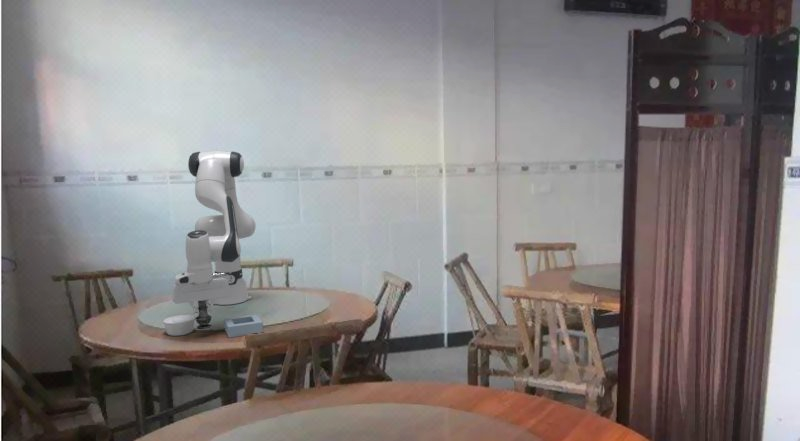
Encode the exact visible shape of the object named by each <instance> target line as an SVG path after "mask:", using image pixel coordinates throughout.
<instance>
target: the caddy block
mask: <svg viewBox="0 0 800 441" xmlns="http://www.w3.org/2000/svg"><path fill="white" fill-rule="evenodd" d="M224 328H225V329H224ZM223 329H224V331H225V333H226V335H227V337H228V339H229V338H237V337H242V336H244V337H245V336H246V335H245V334H251V333H258V334H260V333H259V332H263V333H264V322H263V321H262V320H261V318H260V316H259V315H258V314H257V313H254V314H247V315H239V316H233V317H225V318H223ZM251 335H252V334H251Z"/></svg>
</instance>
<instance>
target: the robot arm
mask: <svg viewBox="0 0 800 441" xmlns="http://www.w3.org/2000/svg"><path fill="white" fill-rule="evenodd" d="M187 166H188V170H189V173H190V174H191V176H193V177H195V186H194V192H195V193H194V194H195V198H196V200H197V201H198V202H199V203H200V204H201V205H202V206H203V207H206V208H208V209H211V210H213V211H215V212H219V213H221V214H220V215H217V214H216V215H207V216H203V217H200V218H198V219H197V220H196V222H195V226H194V230H193V231H190V232H188V233H187V234H186V237H185V258H186V260H187V265H186V271H184V272H183V271H182V272H181V273H179V274H176V275H175V277H174V281H175V283H174V284H173V287H172V302H173V304H175V305H176V304H177V305H179V304H185V303H189V305H190V306H191V308H192V309H193V314H199V309H198V307H196V306H195V302H198V301H203V300H206V301H208V304H209V305H207V307H208V308H207V312H213V306H214V305H221V306H225V305H226V306H227V305H235V304H236V305H237V304H240V303H244V302H246V301H247V300H251V299H252V298H253V297H252V295H250V294H248V286H247V281H246V280H245V279H244V278H243V273H244V272H243V268H242V263H241V262H242V260H241V250H242V248H241V244H240V239H245V238H249V237H252V236H253V235H254V233H255V231H256V228H257V226H256V222H255V220H254V217H253V216H251V215H250V214H248V213H247V212H246V211H245V210H244V209H243V208H242V207H241V206H240V204H239V202H238V197H237V190H236V178H237V177H239V176H241V175H242V174H243V171H244V169H245V168H244V167H245V162H244V158H243V155H242V154H241V153H239V152H237V151H224V150H215V151H214V150H211V151H202V152H201V151H196V152H192V153H191V155H189V158H188V162H187ZM212 262H214V267H215V270H214V273H213V263H212Z"/></svg>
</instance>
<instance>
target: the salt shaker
mask: <svg viewBox="0 0 800 441" xmlns="http://www.w3.org/2000/svg"><path fill="white" fill-rule="evenodd" d="M197 303H198V307H197V308H198V315H197V316H196V317H195V321H196V323H197V324H198V326H196V329H198V330H207V329H210V328H211V327H212V325H211V321H212V315H210V314H209V313H208V307H207V306H208V305H207V300H203V301H197Z"/></svg>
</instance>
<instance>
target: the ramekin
mask: <svg viewBox="0 0 800 441" xmlns="http://www.w3.org/2000/svg"><path fill="white" fill-rule="evenodd" d="M195 318H196V317H195V316H194V315H191V314H180V315H179V314H178V315H173V316H170V317H167V318H164V320H163V325H164V328H165V331H166V334H168V336H174V337H175V336H177V337H178V336H184V335H188V334H191V333H192V332H193V331H194V329H195V321H196V319H195Z"/></svg>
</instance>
